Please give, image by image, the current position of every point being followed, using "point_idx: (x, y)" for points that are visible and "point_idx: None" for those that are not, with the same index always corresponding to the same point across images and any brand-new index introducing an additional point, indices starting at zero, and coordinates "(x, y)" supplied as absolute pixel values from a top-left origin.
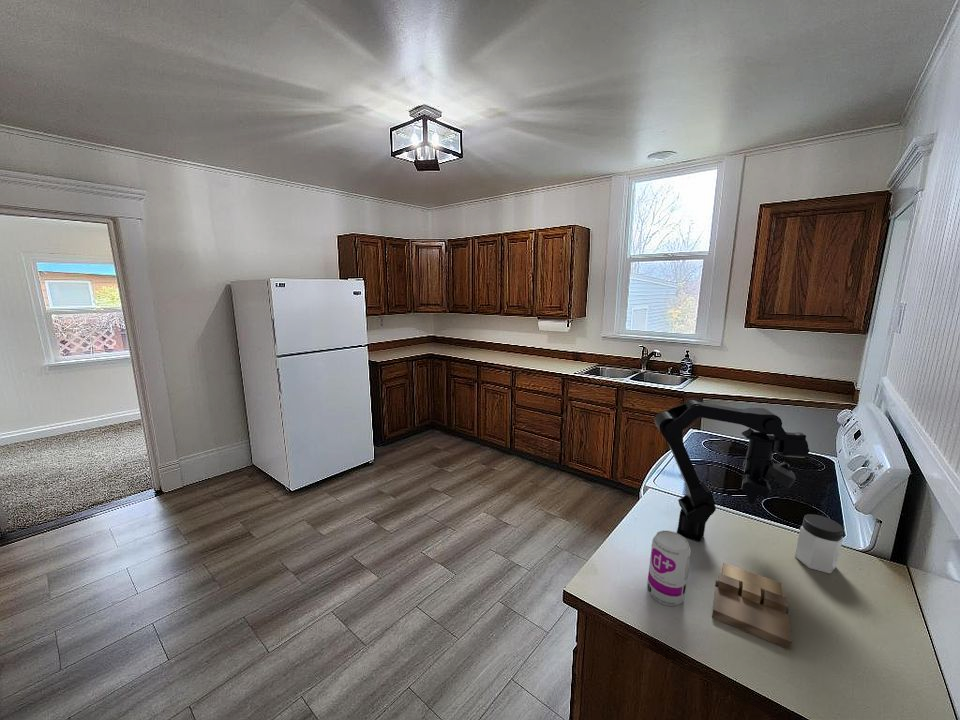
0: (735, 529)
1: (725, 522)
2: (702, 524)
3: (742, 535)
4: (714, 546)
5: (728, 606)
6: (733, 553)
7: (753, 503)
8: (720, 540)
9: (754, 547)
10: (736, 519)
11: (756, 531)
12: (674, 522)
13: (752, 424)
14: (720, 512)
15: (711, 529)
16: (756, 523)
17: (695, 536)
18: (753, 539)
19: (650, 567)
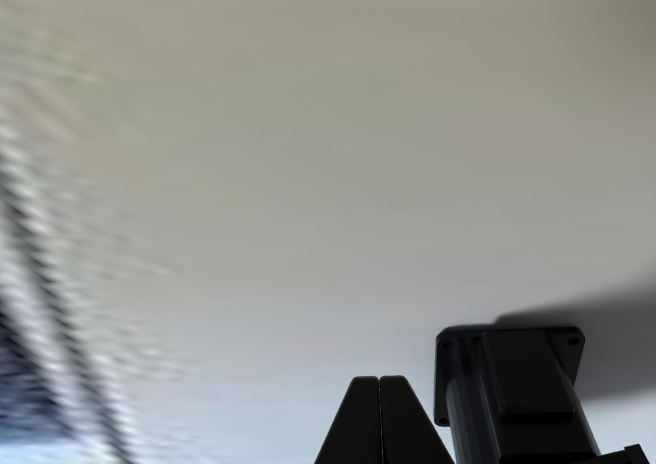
0: (253, 178)
1: (207, 239)
2: (583, 424)
3: (305, 130)
4: (582, 261)
5: None
6: (613, 160)
7: (413, 392)
8: (482, 241)
9: (434, 35)
10: (92, 185)
11: (147, 40)
12: None
13: None
14: (93, 276)
15: (374, 294)
16: (4, 50)
17: (561, 362)
18: (305, 52)
19: None
